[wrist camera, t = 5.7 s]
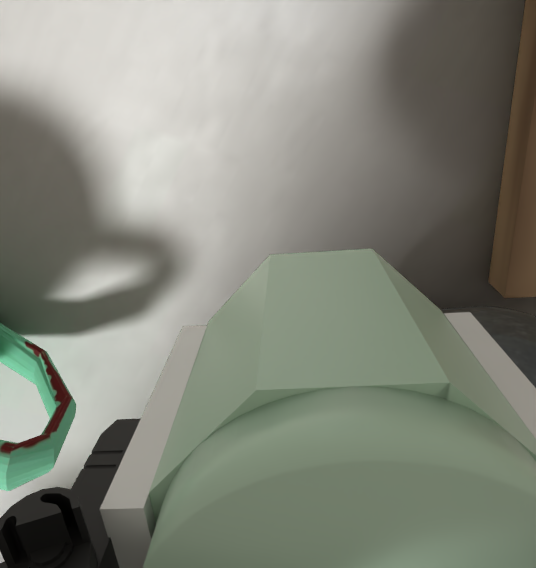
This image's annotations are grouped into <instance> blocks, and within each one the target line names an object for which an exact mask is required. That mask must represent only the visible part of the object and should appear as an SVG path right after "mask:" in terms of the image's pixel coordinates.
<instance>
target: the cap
mask: <svg viewBox="0 0 536 568" xmlns="http://www.w3.org/2000/svg"><path fill="white" fill-rule="evenodd" d="M149 496H150V501H151V505H152V509H153V513H154V518H155V522H156V526H155V530H154V533H153V536H152V539H151V543H150V546H149V549H148V552H147V556H146V559H145V562H144V565H143V568H536V439H535V437H534V436H533V435H532V433H531V432H530V431H529V429H528V428H527V427H526V425H525V424H524V422H523V421H522V420H521V418H520V417H519V416H518V414H517V413H516V412H515V410H514V409H513V408H512V406H511V405H510V404H509V402H508V401H507V399H506V398H505V397H504V395H503V394H502V393H501V391H500V390H499V389H498V387H497V386H496V385H495V383H494V382H493V380H492V379H491V378H490V376H489V375H488V374H487V372H486V371H485V370H484V368H483V367H482V366H481V364H480V363H479V361H478V360H477V359H476V357H475V356H474V355H473V353H472V352H471V351H470V349H469V348H468V347H467V345H466V344H465V343H464V341H463V340H462V338H461V337H460V336H459V334H458V333H457V332H456V330H455V329H454V328H453V326H452V325H451V324H450V322H449V321H448V319H447V318H446V317H445V315H444V314H443V312H442V311H441V310H440V309H439V308H438V307H437V306H436V305H434V304H433V303H432V302H431V301H430V300H429V299H428V298H427V297H426V296H424V295H423V294H422V293H421V292H420V291H419V290H418V289H417V288H416V287H414V286H413V285H412V284H411V283H410V282H409V281H408V280H407V279H405V278H404V277H403V276H402V275H401V274H400V273H399V272H398V271H397V270H395V269H394V268H393V267H392V266H391V265H390V264H389V263H388V262H387V261H385V260H384V259H383V258H382V257H381V256H380V255H379V254H378V253H376V252H375V251H374V250H373V249H356V250H339V251H322V252H305V253H288V254H271V255H269V256H268V257H267V258H266V260H265V261H264V262H263V263H262V264H261V265H260V266H259V267H258V268H257V269H256V270H255V272H254V273H253V274H252V275H251V276H250V277H249V278H248V279H247V280H246V281H245V282H244V284H243V285H242V286H241V287H240V288H239V289H238V290H237V291H236V292H235V293H234V294H233V296H232V297H231V298H230V299H229V300H228V301H227V302H226V303H225V304H224V305H223V306H222V308H221V309H220V310H219V311H218V312H217V313H216V314H215V315H214V316H213V317H212V318H211V319H210V321H209V322H208V325H207V328H206V331H205V334H204V337H203V339H202V342H201V345H200V348H199V351H198V354H197V357H196V359H195V362H194V365H193V368H192V371H191V374H190V377H189V379H188V382H187V385H186V388H185V391H184V394H183V397H182V399H181V402H180V405H179V408H178V411H177V414H176V417H175V419H174V422H173V425H172V428H171V431H170V434H169V437H168V439H167V442H166V445H165V448H164V451H163V454H162V456H161V459H160V462H159V465H158V468H157V471H156V474H155V476H154V479H153V482H152V485H151V488H150V491H149Z"/></svg>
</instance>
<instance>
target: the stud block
mask: <svg viewBox="0 0 536 568" xmlns="http://www.w3.org/2000/svg"><path fill="white" fill-rule="evenodd" d="M488 282H489V283H490V284H491V285H492V286H493V287H494V288H495V289H496V290H497V291H498V292H499V293H500V294H501V295H502V296H503V297H504V298H519V297H536V0H525V7H524V15H523V22H522V30H521V38H520V45H519V53H518V60H517V68H516V76H515V83H514V91H513V98H512V106H511V113H510V121H509V129H508V136H507V144H506V151H505V159H504V166H503V174H502V182H501V189H500V197H499V204H498V212H497V219H496V227H495V235H494V242H493V250H492V257H491V265H490V273H489V280H488Z"/></svg>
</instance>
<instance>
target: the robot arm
mask: <svg viewBox="0 0 536 568" xmlns="http://www.w3.org/2000/svg"><path fill="white" fill-rule="evenodd" d="M444 315H445V317H446V318H447V319H448V321H449V322H450V324H451V325H452V326H453V328H454V329H455V330H456V332H457V333H458V334H459V336H460V337H461V338H462V340H463V341H464V343H465V344H466V345H467V347H468V348H469V349H470V351H471V352H472V353H473V355H474V356H475V357H476V359H477V360H478V361H479V363H480V364H481V366H482V367H483V368H484V370H485V371H486V372H487V374H488V375H489V376H490V378H491V379H492V380H493V382H494V383H495V385H496V386H497V387H498V389H499V390H500V391H501V393H502V394H503V395H504V397H505V398H506V399H507V401H508V402H509V404H510V405H511V406H512V408H513V409H514V410H515V412H516V413H517V414H518V416H519V417H520V418H521V420H522V421H523V422H524V424H525V425H526V427H527V428H528V429H529V431H530V432H531V433H532V435H533V436H534V437H535V439H536V388H535V387H534V385H533V384H532V383H531V382H530V381H529V380H528V379H527V377H526V376H525V375H524V374H523V373H522V372H521V370H520V369H519V368H518V367H517V366H516V365H515V363H514V362H513V361H512V360H511V359H510V358H509V357H508V355H507V354H506V353H505V352H504V351H503V350H502V348H501V347H500V346H499V345H498V344H497V343H496V341H495V340H494V339H493V338H492V337H491V336H490V334H489V333H488V332H487V331H486V330H485V329H484V328H483V326H482V325H481V324H480V323H479V322H478V321H477V319H476V318H475V317H474V316H473V315H472V314H471V312H461V313H444ZM206 328H207V325H202V326H183V327H182V329H181V331H180V333H179V336H178V338H177V340H176V342H175V344H174V347H173V349H172V351H171V353H170V355H169V358H168V360H167V362H166V364H165V366H164V369H163V371H162V373H161V375H160V377H159V380H158V382H157V384H156V386H155V388H154V391H153V393H152V395H151V397H150V399H149V402H148V404H147V406H146V408H145V410H144V413H143V415H142V417H141V419H121V420H116V421H115V422H114V423H113V424H112V425H111V426H110V427H109V428H108V429H107V430H105V431H104V432H103V433H102V434H101V436H100V437H99V439H98V441H97V443H96V445H95V446H94V448H93V450H92V455H90V456H89V457H88V459H87V461H86V463H85V465H84V469H82V470H81V472H80V474H79V476H78V477H77V479H76V481H75V483H74V485H73V486H72V488H71V490H70V489H65V488H60V487H55V488H48V489H42V490H40V491H37V492H35V493H32V494H30V495H28V496H26V497H24V498H23V499H21V500H20V501H18V502H17V503H16V504H14V505H13V506H11V507H10V508H9V509H8V511H7V512H6V513H5V514H4V515H3V516H2V517H1V518H0V551H1V553H2V556H3V558H4V560H5V562H3V563H0V568H143V565H144V562H145V559H146V556H147V552H148V549H149V546H150V543H151V539H152V536H153V533H154V530H155V526H156V522H155V518H154V513H153V509H152V505H151V501H150V496H149V491H150V488H151V485H152V482H153V479H154V476H155V474H156V471H157V468H158V465H159V462H160V459H161V456H162V454H163V451H164V448H165V445H166V442H167V439H168V437H169V434H170V431H171V428H172V425H173V422H174V419H175V417H176V414H177V411H178V408H179V405H180V402H181V399H182V397H183V394H184V391H185V388H186V385H187V382H188V379H189V377H190V374H191V371H192V368H193V365H194V362H195V359H196V357H197V354H198V351H199V348H200V345H201V342H202V339H203V337H204V334H205V331H206Z"/></svg>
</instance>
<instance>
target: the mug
mask: <svg viewBox="0 0 536 568" xmlns="http://www.w3.org/2000/svg"><path fill="white" fill-rule="evenodd" d="M0 362H1V363H3V364H5V365H6V366H8V367H9V368H11V369H12V370H14V371H15V372H17V373H19V374H20V375H22V376H23V377H25V378H26V379H28V380H29V381H31V382H33V383H34V384H36V386H37V388H38V391H39V393H40V396H41V398H42V400H43V403H44V405H45V408H46V410H47V413H48V415H49V417H50V420H49V422H48V424H47V426H46V428H45V429H44V431H43V433H42V434H41V435H40V436H37V437H34V438H31V439H29V440H26V441H23V442H21V443H14V442H9V441H4V440H0V489H2V490H6V491H10V490H12V489H14V488H17V487H19V486H21V485H23V484H25V483H27V482H29V481H31V480H33V479H35V478H37V477H40V476H42V475H44V474H46V473H48V472H49V471H50V470H51V469H52V468H53V467H54V465H55V462H56V460H57V457H58V455H59V453H60V450H61V448H62V445H63V443H64V441H65V438H66V436H67V433H68V431H69V429H70V426H71V424H72V422H73V419H74V417H75V412H76V403H75V401H74V399H73V398H72V396H71V394H70V392H69V390H68V389H67V387H66V385H65V383H64V382H63V380H62V378H61V376H60V374H59V373H58V371H57V369H56V367H55V366H54V364H53V362H52V360H51V358H50V357H49V355H48V353H47V352H46V351H45V350H43V349H41V348H40V347H38V346H36V345H35V344H33V343H32V342H30V341H28V340H27V339H25V338H24V337H22V336H20V335H19V334H17V333H15V332H14V331H12V330H11V329H9V328H7V327H6V326H4V325H3V324H1V323H0Z"/></svg>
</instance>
